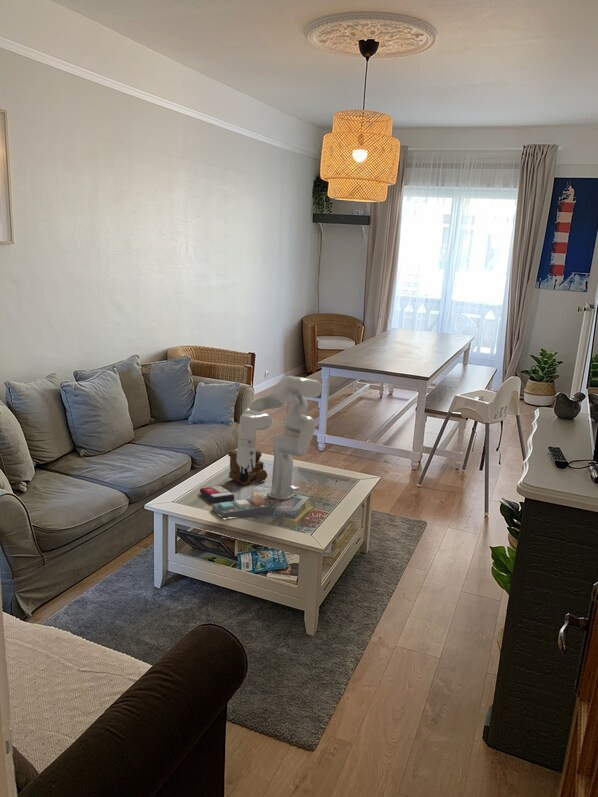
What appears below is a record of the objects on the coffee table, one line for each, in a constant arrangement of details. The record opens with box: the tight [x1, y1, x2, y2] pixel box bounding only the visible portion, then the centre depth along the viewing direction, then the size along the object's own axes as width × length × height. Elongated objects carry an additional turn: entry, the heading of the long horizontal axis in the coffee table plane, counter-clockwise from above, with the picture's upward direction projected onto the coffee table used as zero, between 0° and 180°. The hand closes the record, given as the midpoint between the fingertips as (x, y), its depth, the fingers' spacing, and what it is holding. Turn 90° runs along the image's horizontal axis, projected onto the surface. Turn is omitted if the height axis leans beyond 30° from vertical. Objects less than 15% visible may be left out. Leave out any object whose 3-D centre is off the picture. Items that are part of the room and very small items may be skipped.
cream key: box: [234, 499, 250, 508], centre depth 280 cm, size 5×5×2 cm
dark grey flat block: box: [211, 498, 273, 519], centre depth 280 cm, size 24×12×3 cm, turn 123°
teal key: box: [219, 502, 234, 511], centre depth 276 cm, size 5×5×2 cm
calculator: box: [199, 485, 235, 505], centre depth 295 cm, size 11×4×15 cm
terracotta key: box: [249, 496, 266, 506], centre depth 284 cm, size 5×5×2 cm
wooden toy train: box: [227, 449, 268, 486], centre depth 321 cm, size 20×11×17 cm, turn 130°
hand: (243, 481), depth 278 cm, fingers closed
